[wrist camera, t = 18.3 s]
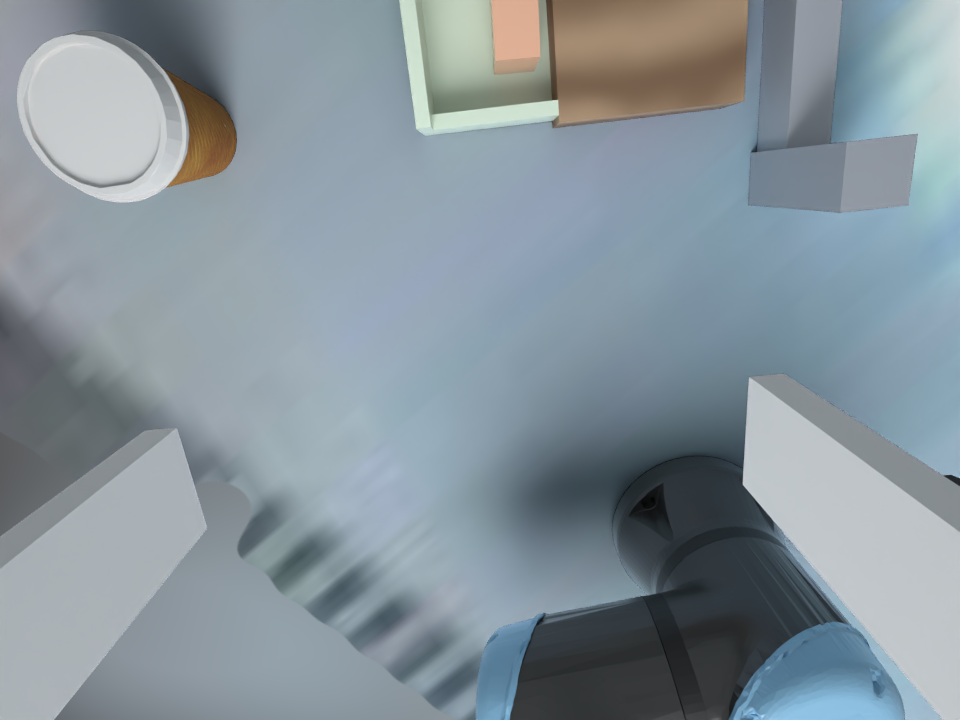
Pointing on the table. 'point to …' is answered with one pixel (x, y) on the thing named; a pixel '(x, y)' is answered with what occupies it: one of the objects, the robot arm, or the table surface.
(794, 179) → the scraper
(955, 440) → the table surface
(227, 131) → the disposable coffee cup
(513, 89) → the tray
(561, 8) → the brown wooden board
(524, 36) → the tile
